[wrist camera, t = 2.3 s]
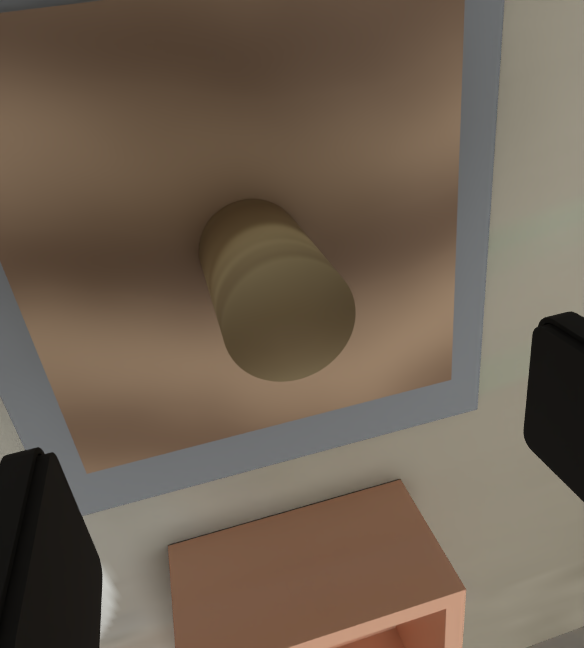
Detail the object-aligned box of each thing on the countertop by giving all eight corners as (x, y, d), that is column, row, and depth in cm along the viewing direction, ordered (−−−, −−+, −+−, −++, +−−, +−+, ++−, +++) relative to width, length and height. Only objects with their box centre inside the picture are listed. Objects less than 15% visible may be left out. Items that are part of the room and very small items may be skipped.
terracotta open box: (167, 545, 24) (178, 683, 19) (400, 479, 26) (466, 589, 21) (213, 681, 30) (231, 817, 25) (403, 618, 32) (456, 733, 27)
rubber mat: (-230, -117, 12) (-243, -123, 12) (505, -178, 15) (516, -183, 15) (60, 512, 22) (59, 522, 22) (471, 402, 25) (477, 409, 25)
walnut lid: (-80, 24, 14) (-213, 24, 8) (444, -41, 16) (601, -73, 11) (88, 451, 21) (74, 599, 15) (437, 363, 23) (529, 465, 18)
